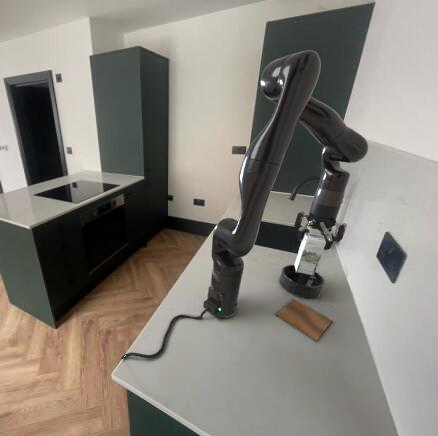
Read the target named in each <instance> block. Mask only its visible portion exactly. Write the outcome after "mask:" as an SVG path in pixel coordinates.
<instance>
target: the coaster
mask: <svg viewBox="0 0 438 436" xmlns="http://www.w3.org/2000/svg"><path fill="white" fill-rule="evenodd" d="M275 316H276V317H277V318H280V319H281V320H282V321H283V322H286V323H287V324H289V325H290V326H292V327H293V328H295V329H297V330H298V331H300V332H301V333H303V334H305V335H306V336H307V337H309V338H311V339H312V340H314V341H315V342H317V341H318V340H319V339H320V337H321V336H322V335H323V334H324V332H325V331H326V330H327V328H329V326H330V325H331V324H332V323H333V320H331V319H330V318H328V317H326V316H325V315H322V314H321V313H319V312H317V311H315V310H314V309H312V308H311V307H308V306H307V305H304V304H303V303H301V302H300V301H297V300H296V299H291V301H290V302H288V303H287V304H286V305H285V306H284V307H283V308H282V309H281V310H280V311H278V312H277V313H276V314H275Z"/></svg>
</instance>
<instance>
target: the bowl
mask: <svg viewBox="0 0 438 436" xmlns="http://www.w3.org/2000/svg"><path fill="white" fill-rule="evenodd" d="M278 280H279V284H280V286H281V287H282V288H283V289H284V290H285V291H286V292H288V293H290V294H292V295H294V296H297V297H299V298H303V299H316V298H318V297H320V295H322V290H323V288H324V287H325V279H324V277H323V276H322V275H321V274H320V273H318V272H317V271H315V274H314V276H311V275H307V274H303V273H298V272H296V269H295V264H288V265H285V266H283V267H282V269H281V272H280V277H279V279H278Z"/></svg>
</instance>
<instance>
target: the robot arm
mask: <svg viewBox="0 0 438 436" xmlns="http://www.w3.org/2000/svg"><path fill="white" fill-rule="evenodd" d="M321 68H322V63H321V58H320V55H319V53H318V52H317V51H315V50H312V49H311V50H310V49H308V50H303V51H298V52H295V53H292V54H288V55H285V56H282V57H279V58H277V59H274V60H272V61H271V62H269V63H268V65H266V67H265V68H264V69H263V71H262V74H261V76H260V83H259V84H260V90H261V92H262V93H263V95H264V96H265V97H266V98H267V99H268V100H269V101H271V102H272V103H274V104H275V108H274V111H273V113H272V114H271V117H270V119H269V121H268V122H267V123H266V125H265V126H264V128H263V129H262V130H261V131H260V132H259V133H258V135H257V136H256V137H255V138H254V140H253V141H252V142H251V143H250V145H249V146H248V148H247V150H246V152H245V153H244V156H243V160H242V163H241V166H240V169H239V172H238V187H239V193H240V201H241V202H240V203H241V204H240V205H241V207H240V214H239V218H238V220H237V219H235V218H233V217H224V218H222V219H221V220H219V221H218V222H217V224H216V225H215V227H214V228H213V229H214V230H213V232H212V242H211V260H212V270H211V276H210V285H209V286H208V290H207V298H206V299H205V300H203V304H202V308H204V309H203V310H202V311H201V313H200V315H199V316H191V315H186V314H178V315H176V316H174V317H173V318H172V319H171V320H170V322H169V324H168V327H167V329H166V331H165V333H164V336H163V339H162V343H161V346H160V348H159V349H158V351H157V352H155V353H153V354H143V353H139V352H133V351H132V352H126V353H127V354H126V353H124V354H123V355H122V356H121V357H120V360H122V359H123V358H124V359H126V358H128V357H138V358H143V359H154V358H156V357H158V356H160V355H161V353H162V352H163V350H164V348H165V346H166V342H167V338H168V335H169V333H170V331H171V329H172V326H173V324H174V322H175V321H176V320H178V319H180V318H183V319H184V318H185V319H190V320H191V319H192V320H201V319H202V318H203V317H204V315H205V314H206V313H207V312H208V313H210V314H211V315H212V316H215V317H217V318H218V319H219V320H222V319H228V318H232V317H233V316H235V314H236V312H237V306H238V299H239V295H240V288H241V284H242V279H243V273H244V268H245V262H244V260H243V258H244V257H245V256H247V255H248V254H249V253H250V252H251V251H252V250H253V248H254V247H255V244H256V241H257V238H258V234H259V231H260V227H261V223H262V219H263V217H264V212H265V210H266V206H267V203H268V200H269V198H270V194H271V192H272V189H273V187H274V184H275V182H276V180H277V177H278V174H279V172H280V170H281V167H282V164H283V161H284V158H285V156H286V153H287V150H288V147H289V145H290V142H291V140H292V137H293V135H294V133H295V131H296V129H297V128H296V127H297V125H298V123H299V124H301V126H303V127H304V128H305V129H306V130H307V131H308V132H309V134H310V135H311V136H312V137H313V138H314V140H316V141H317V143H318V144H319V145H321V146H322V150H321V176H320V179H319V182H318V185H317V188H316V190H315V191H314V195H313V199H312V202H311V205H310V209H309V210H308V211H309V212H308V213H305V211H299V212H298V213H297V215H296V218H295V221H294V224H293V228H295V229H297V230H298V232H297V235H296V239H297V241H300V242H301V241H302V238H303V235H304V232H306V229H308V228H309V227H310V228H311V229H313V230H317V231H319V232H323V234H324V235H325V237H326V239H327V240H325V242H326V245H325V247H324V250H323V251H330V249H332V246H333V243H334V242H335V243H339V242H341V241H342V240H343V238H344V235H345V232H346V229H347V227H348V224H347V223H344V222H343V223H341V222H337V218H338V214H339V211H340V209H341V207H342V204H343V201H344V197H345V193H346V189H347V187H348V184H349V181H350V178H351V173H350V172H349V171H348V170H346V169H344V168H343V167H341V163H344V164H345V163H346V164H355V163H358V162H360V161H362V160H363V159H364V158H365V157H366V156H367V154H368V152H369V143H368V140H367V139H366V138H365V137H364V136H363V135H362V134H360V133H359V132H357V131H356V130H354V129H353V128H351V127H349V126H347V124H346V122H345V121H344V120H343V119H342V117H341V116H340V115H339V113H338V112H337V111H336V110H335V109H333V108H332V107H331V106H329V105H328V104H326V103H324V102H322V101H320V100H318V99H317V98H315V97H313V96H312V95H313V92H314V90H315V88H316V86H317V83H318V80H319V78H320V74H321ZM304 219H306V220H307V223H306V224H304V225H302V223H303V220H304ZM333 227H335V228H336V230H337V233H336V235H335V234H334V230H333ZM125 355H126V356H125ZM124 356H125V357H124ZM124 359H123V360H124Z"/></svg>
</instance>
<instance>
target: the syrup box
mask: <svg viewBox="0 0 438 436" xmlns="http://www.w3.org/2000/svg"><path fill="white" fill-rule="evenodd" d="M325 245H326V239H325V236H324V235H322V234H317V233H311V232H306V231H305V232H304V235H303V238H302V240H301V241H300V245H299V248H298V251H297V254H296V257H295V260H294V265H295V269H296V272H298V273H303V274H307V275H311V276H314V274H315V272H317V268H318V265H319V262H320V260H321V258H322V255H323V252H324V251H325V250H324V247H325Z"/></svg>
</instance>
